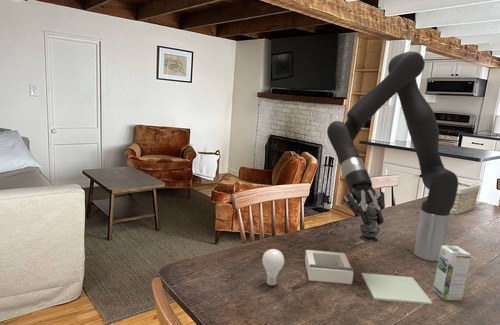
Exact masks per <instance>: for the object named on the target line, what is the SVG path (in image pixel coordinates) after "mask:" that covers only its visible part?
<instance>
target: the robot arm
mask: <svg viewBox="0 0 500 325" xmlns="http://www.w3.org/2000/svg"><path fill="white" fill-rule="evenodd" d="M425 64H426V63H425V59H424V57H423V56H422V54H420V53H419V52H417V51H405V52H403V53H400V54H397V55H395V56H394V57H392V58H391V60H389V63H388V66H387V67H388V68H387V71H388V75H387V76H385V78H384V79H383V80H381V81H380V82H379V83H378V84H377V85H376V86H374V87H373V88H372V89H371V90H369V91H368V92H367V93H365V94H364V95H363V96H362V97H361V98H359V100H358V101H357V102H356V103H355V104H354V105H353V106H352V107H351V108H350V109H349V110H348V111H347V112H346V120H345V122H343V121H340V120H335V121H333V122H331V123H329V125H328V127H327V130H326V134H327V138H328V139H329V142H330V144H331V146H332V148H333V150H334V151H335V152H334V153H335V154H336V158H337V160H338V163H339V166H340V170H341V174H342V177H343V179H344V182H345V185H346V188H347V190H348V192H349V193H348V192H347V193H346V194H345V195H344V196H343V197H342V199H343V201H344V202H345V203H346V205H347V206H348V207H349V208H350V210H351V212H352V213H353V214H359V215H360V218H361V221H362V223H363V224H365V225H366V226H369V225H370V224H371V220H370V218H369V215H368V213H367V212H366V211H367V205H368V204H371V203H372V201H373V202H374V203H373V204H375V205H376V206H377V213H376V216H377V218H376V225H378V226H379V225H380V226H381V225H382V224H384V221H385V220H384V217H383V214H382V211H383V210H384V209H385V208H386V204H385V199H386V198H385V192H384V191H381V192H378V191H376V190H375V189H374V187H373V181H372V179H371V177H370V174H369V172H368V169H367V167H366V165H365V163H364V162H363V160H362V158H361V155H360V153H359V150H358V148H357V147H356V146H355V144H354V143H353V142H354V140H355V139H356V138H357V136H358V135H359V133H360V132H361V130H362V128H363V126H364V125H365V124H366V123H367V122H368V121H369V120H371V118H372V117H373V116H374V115H375V114H376V113H377V112H378V111H379V110H380V109H381V108H382V107H383V106H384V105H385V104H386V103H387V102H388V101H389V100H390V99H391V98H392V97H393V96H395V95H396V94H397V96H398V98H399V102H400V106H401V109H402V113H403V116H404V120H405V123H406V127H407V130H408V132H409V133H408V134H409V136H410V138H411V139H410V140H411V141H412V142H411V143H412V146H413V148H414V151H415V153H416V156H417V160H418V164H419V169H420V175H421V180H422V183H423V185H424V186H425V188H426V189H428V195H427V197H426V200H424V201H422V202H421V206H420V213H419V218H418V226H417V231H416V232H417V233H416V237H415V244H414V250H413V254H414V255H415V256H416V257H418V258H420V259H422V260H425V261H430V262H438V260H439V255H440V250H441V246H446V245H448V241H449V234H447V230H448V225H449V219H450V210H451V209H452V207H453V205H454V202H455V198H456V193H457V189H458V188H459V185H458V180H459V178H458V176H457V175H456V173H455V172H453V171H452V170H450V169H447V168H446V167H445V166H444V164H443V161H442V159H441V156H440V152H439V141H440V129H439V128H440V127H439V124H438V122H437V118H436V114H435V112H434V110H433V109H432V107H431V105H430V104H429V103H428V101H427V100H426V99H425V98H424V95H423V94H422V92H421V90H420V88H419V85H418V82H417V77H419V76H420V75H421V74H422V73H423V71H424V68H425Z"/></svg>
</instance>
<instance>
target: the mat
mask: <svg viewBox="0 0 500 325" xmlns="http://www.w3.org/2000/svg"><path fill="white" fill-rule="evenodd" d="M361 277H362V279H363V281H364V283H365V285H366V286H367V288H368V291H369V292H370V294H371V296H372V298H373V300H374V301H386V302H396V303H408V304H418V305H431V306H432V305H433V302H432V300H431V298H430V297H429V296H428V295H427V293H425V291H424V290H423V289H422V288H421V286H420V285H419V284H418V283H417V281H416V280H415V278H414V277H412V276H411V277H410V276H403V275H402V276H398V275H388V274H377V273H367V272H366V273H365V272H361Z"/></svg>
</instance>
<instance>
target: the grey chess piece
mask: <svg viewBox="0 0 500 325" xmlns="http://www.w3.org/2000/svg"><path fill="white" fill-rule="evenodd" d="M373 203H374V202H373V201H372V202H371V204H368V205H367V204H366V212H367V213H368V215H369V218H370V220H371V224H370V225H369V226H366V225H365V224H364V223H363V224H360V225H359V229H360V233H361V234H362V235H360V236H358V237H359V240H361V241H362V242H366V243H377V242H378V238H377V235H378V234H379V232H380V230H381V228H380V227H379V226H377V222H376V218H377V216H376V213H377V206H376V205H375V204H373Z"/></svg>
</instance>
